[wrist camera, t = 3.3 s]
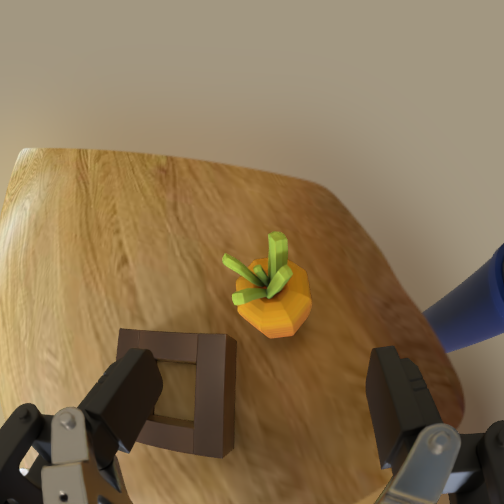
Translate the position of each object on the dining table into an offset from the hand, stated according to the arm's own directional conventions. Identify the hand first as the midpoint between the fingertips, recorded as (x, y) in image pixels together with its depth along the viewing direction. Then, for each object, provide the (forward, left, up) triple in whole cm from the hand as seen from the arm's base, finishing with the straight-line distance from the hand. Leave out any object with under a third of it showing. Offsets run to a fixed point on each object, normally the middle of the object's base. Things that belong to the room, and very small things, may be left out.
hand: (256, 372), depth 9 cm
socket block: (+10, +2, -17) cm, 19 cm away
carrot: (0, -5, -17) cm, 18 cm away
